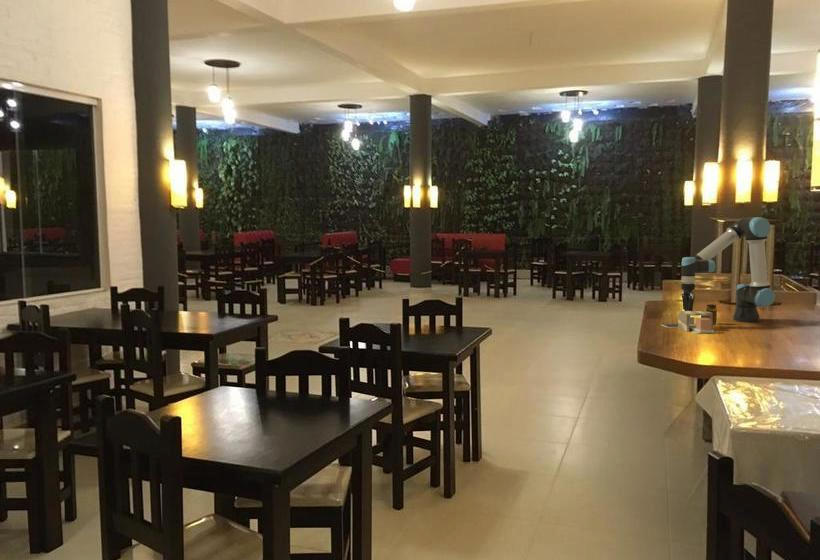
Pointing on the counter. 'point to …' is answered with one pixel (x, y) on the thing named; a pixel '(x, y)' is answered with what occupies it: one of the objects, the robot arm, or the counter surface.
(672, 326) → the pad
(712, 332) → the mat
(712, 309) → the condiment
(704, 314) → the tunnel
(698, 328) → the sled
